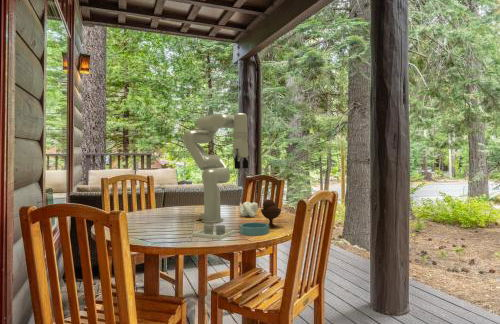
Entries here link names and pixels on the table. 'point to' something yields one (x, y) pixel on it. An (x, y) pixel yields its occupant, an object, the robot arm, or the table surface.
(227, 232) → the parts tray
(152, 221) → the table surface
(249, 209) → the white lumpy chunk
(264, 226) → the bowl
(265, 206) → the ice cream bowl
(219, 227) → the stone
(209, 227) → the stone
